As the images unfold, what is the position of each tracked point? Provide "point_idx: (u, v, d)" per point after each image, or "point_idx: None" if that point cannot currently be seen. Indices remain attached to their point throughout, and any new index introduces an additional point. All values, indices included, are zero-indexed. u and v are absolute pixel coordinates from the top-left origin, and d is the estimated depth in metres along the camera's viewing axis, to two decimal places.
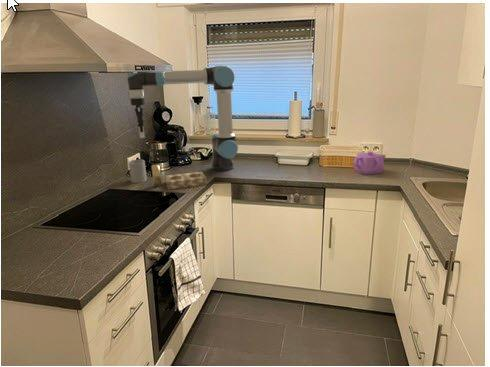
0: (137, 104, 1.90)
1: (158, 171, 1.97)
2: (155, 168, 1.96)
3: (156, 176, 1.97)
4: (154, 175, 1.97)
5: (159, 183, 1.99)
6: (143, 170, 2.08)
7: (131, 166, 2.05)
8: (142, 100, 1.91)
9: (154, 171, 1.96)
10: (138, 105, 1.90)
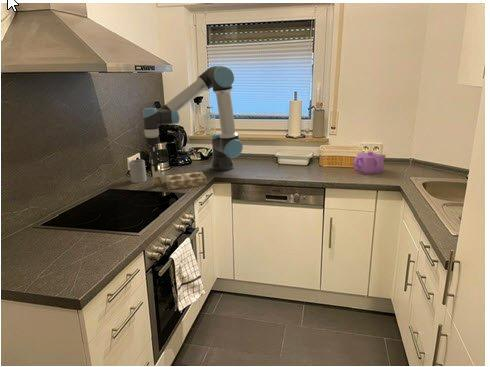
0: (152, 143, 1.90)
1: None
2: None
3: None
4: None
5: (159, 183, 1.99)
6: (143, 170, 2.08)
7: (131, 166, 2.05)
8: (157, 139, 1.91)
9: None
10: (153, 144, 1.90)
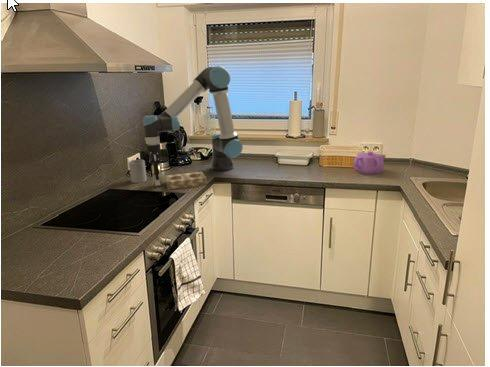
0: (153, 151, 1.91)
1: None
2: None
3: None
4: None
5: None
6: (143, 170, 2.08)
7: (131, 166, 2.05)
8: (158, 147, 1.92)
9: None
10: (154, 152, 1.91)
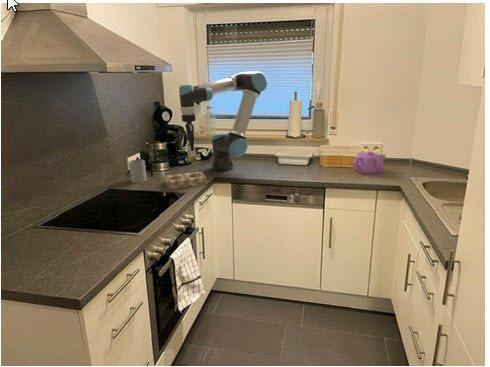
0: (189, 121, 1.90)
1: None
2: None
3: None
4: (189, 150, 1.97)
5: (194, 158, 1.99)
6: (143, 170, 2.08)
7: (131, 166, 2.05)
8: (193, 116, 1.91)
9: None
10: (190, 122, 1.91)
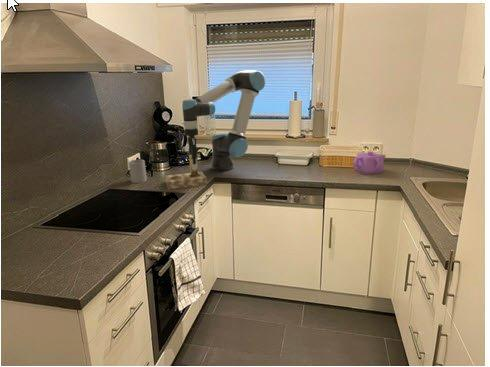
0: (191, 135, 1.93)
1: None
2: None
3: None
4: (191, 164, 2.00)
5: (196, 172, 2.02)
6: (143, 170, 2.08)
7: (131, 166, 2.05)
8: (196, 131, 1.94)
9: None
10: (192, 136, 1.93)
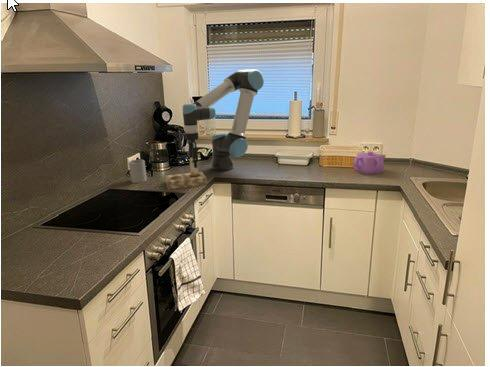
0: (192, 139, 1.94)
1: None
2: None
3: (194, 173, 2.01)
4: (192, 172, 2.01)
5: None
6: (143, 170, 2.08)
7: (131, 166, 2.05)
8: (196, 135, 1.95)
9: (192, 168, 2.00)
10: (193, 140, 1.94)
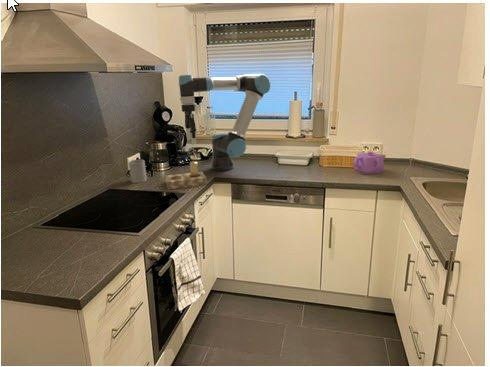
0: (189, 110, 1.91)
1: (196, 168, 2.01)
2: (194, 165, 2.00)
3: (194, 173, 2.01)
4: (192, 172, 2.01)
5: None
6: (143, 170, 2.08)
7: (131, 166, 2.05)
8: (193, 106, 1.92)
9: (192, 168, 2.00)
10: (190, 111, 1.92)
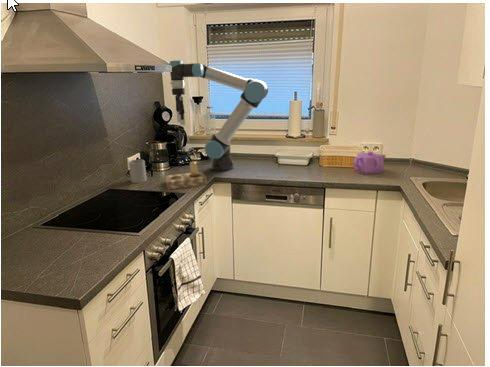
0: (178, 94, 2.06)
1: (196, 168, 2.01)
2: (194, 165, 2.00)
3: (194, 173, 2.01)
4: (192, 172, 2.01)
5: None
6: (143, 170, 2.08)
7: (131, 166, 2.05)
8: (183, 90, 2.07)
9: (192, 168, 2.00)
10: (179, 95, 2.06)
